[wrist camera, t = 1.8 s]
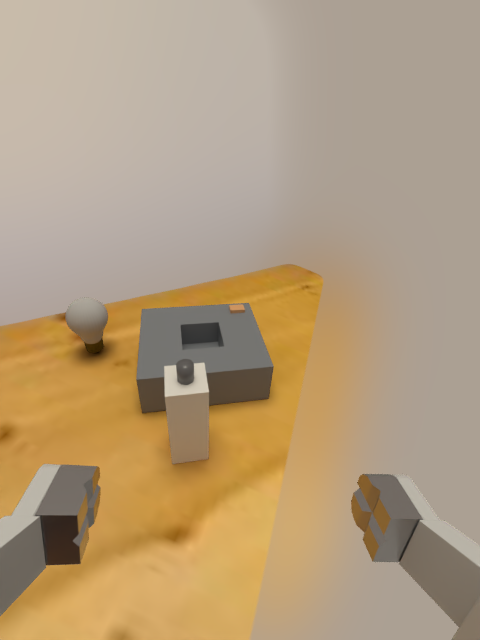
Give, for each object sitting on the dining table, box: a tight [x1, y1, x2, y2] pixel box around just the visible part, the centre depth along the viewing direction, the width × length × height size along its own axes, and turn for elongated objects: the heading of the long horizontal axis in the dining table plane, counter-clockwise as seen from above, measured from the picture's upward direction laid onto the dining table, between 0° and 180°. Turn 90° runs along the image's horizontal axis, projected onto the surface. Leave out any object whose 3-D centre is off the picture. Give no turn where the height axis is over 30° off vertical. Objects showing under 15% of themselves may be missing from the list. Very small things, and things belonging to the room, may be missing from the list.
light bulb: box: [66, 298, 108, 353], centre depth 52 cm, size 6×6×10 cm
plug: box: [164, 359, 209, 464], centre depth 38 cm, size 4×4×14 cm
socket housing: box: [137, 303, 274, 413], centre depth 52 cm, size 18×16×7 cm
